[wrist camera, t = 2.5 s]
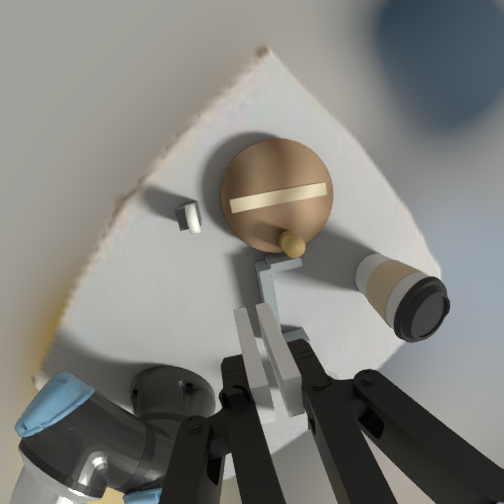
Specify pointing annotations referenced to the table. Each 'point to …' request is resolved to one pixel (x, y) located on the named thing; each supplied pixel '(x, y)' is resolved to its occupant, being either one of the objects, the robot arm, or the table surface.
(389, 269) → the coffee cup
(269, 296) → the pocket stop
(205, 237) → the table surface
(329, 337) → the table surface
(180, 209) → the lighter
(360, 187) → the table surface
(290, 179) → the disc
